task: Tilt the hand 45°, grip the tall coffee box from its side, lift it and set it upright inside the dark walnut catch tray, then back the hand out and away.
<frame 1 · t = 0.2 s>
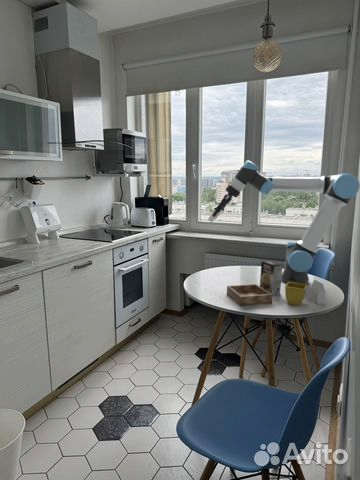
hand: (211, 219, 180), 35 cm above the table, tool tilted 35°, fingers open, 13 cm apart
grey block: (316, 301, 158), on the table
catch tray: (248, 298, 159), on the table
coffee box: (269, 293, 169), on the table
flower pot: (294, 303, 155), on the table
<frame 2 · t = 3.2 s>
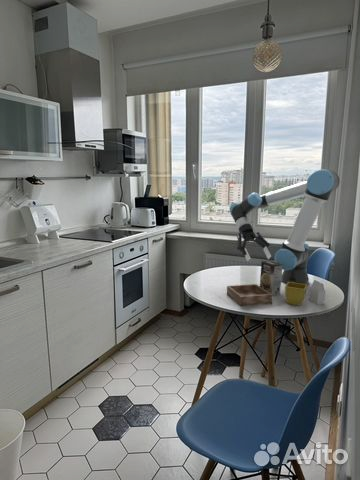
hand: (259, 258, 174), 16 cm above the table, tool tilted 45°, fingers open, 13 cm apart
nothing on the table moved.
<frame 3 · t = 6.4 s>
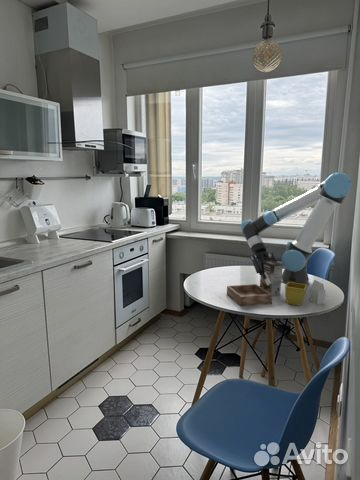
hand: (275, 283, 165), 6 cm above the table, tool tilted 45°, fingers closed on coffee box, 7 cm apart
coffee box: (269, 293, 169), on the table, touching gripper
everything else where it was.
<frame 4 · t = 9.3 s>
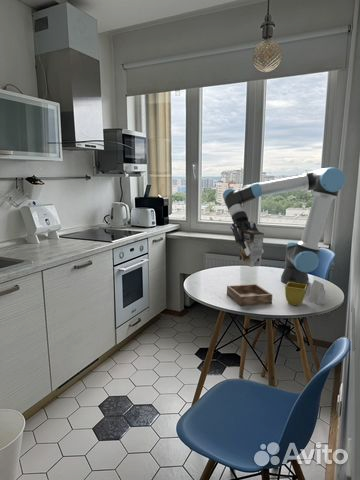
hand: (255, 253, 154), 23 cm above the table, tool tilted 45°, fingers closed on coffee box, 7 cm apart
coffee box: (249, 264, 158), point 17 cm above the table, touching gripper
everything else where it was.
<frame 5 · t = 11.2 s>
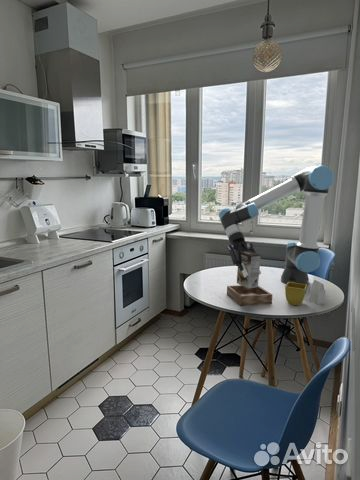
hand: (252, 275, 154), 13 cm above the table, tool tilted 45°, fingers closed on coffee box, 7 cm apart
coffee box: (247, 285, 158), point 7 cm above the table, touching gripper
everything else where it was.
when the fingers open (8 cm above the table, at t = 12.6 s): coffee box stays where it is, resting on catch tray.
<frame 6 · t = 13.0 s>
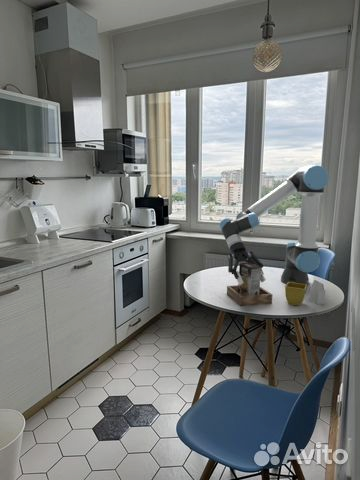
hand: (252, 282, 156), 9 cm above the table, tool tilted 45°, fingers open, 12 cm apart
coffee box: (248, 297, 159), point 1 cm above the table, touching catch tray
everything else where it was.
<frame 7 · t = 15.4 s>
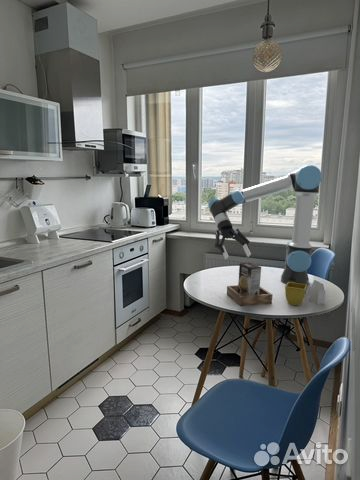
hand: (238, 256, 165), 19 cm above the table, tool tilted 45°, fingers open, 13 cm apart
nothing on the table moved.
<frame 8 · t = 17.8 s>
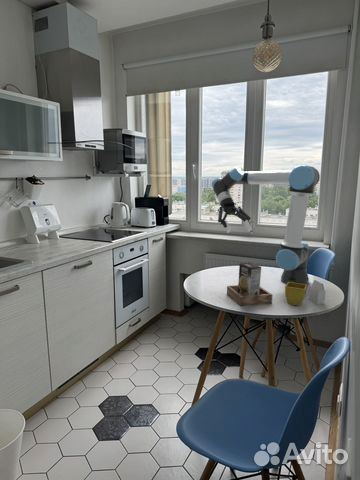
hand: (239, 231, 177), 30 cm above the table, tool tilted 45°, fingers open, 13 cm apart
nothing on the table moved.
at the end: coffee box inside the target area on the catch tray (0.2 cm from its centre), point 0.8 cm above the catch tray's base; coffee box tilted 0°; the gripper is holding nothing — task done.
